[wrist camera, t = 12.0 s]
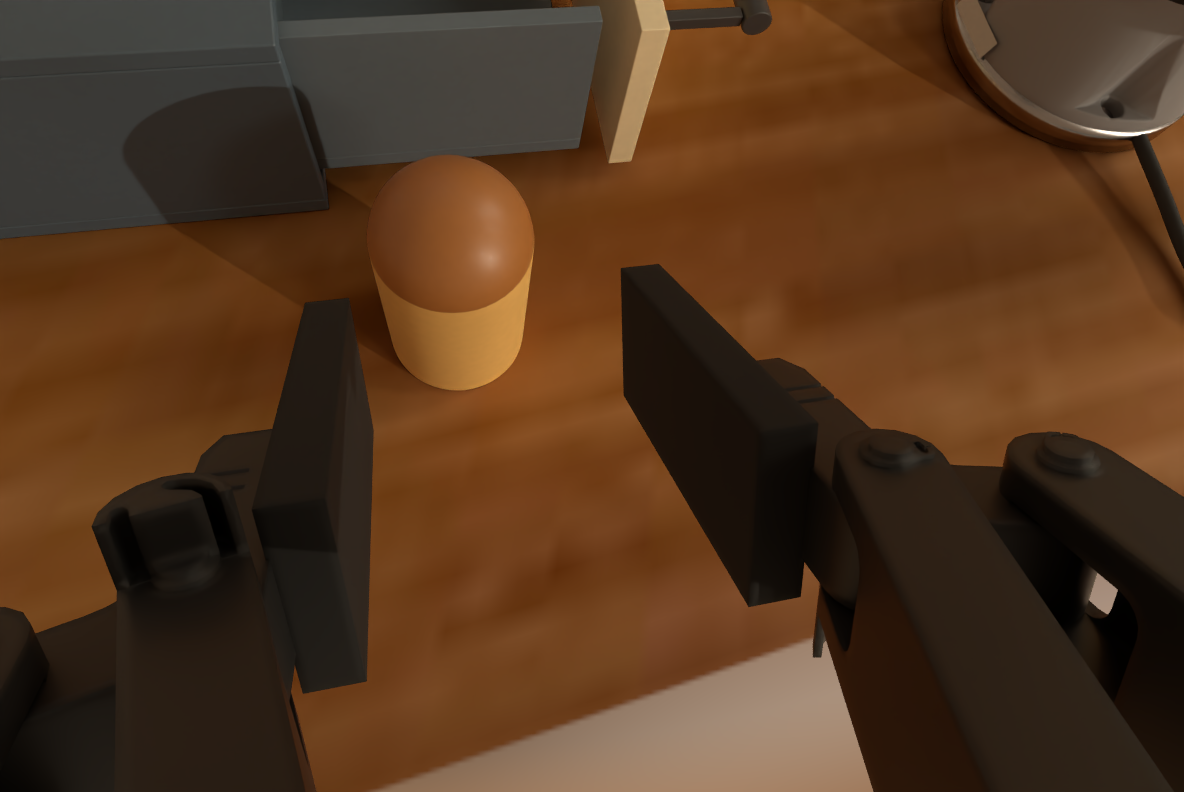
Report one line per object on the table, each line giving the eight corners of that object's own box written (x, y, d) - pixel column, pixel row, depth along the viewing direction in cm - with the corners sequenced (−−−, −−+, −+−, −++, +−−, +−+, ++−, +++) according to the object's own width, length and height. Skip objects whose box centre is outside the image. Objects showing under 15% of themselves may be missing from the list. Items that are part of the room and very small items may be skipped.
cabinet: (305, -26, 42) (251, -243, 32) (329, 209, 38) (275, 44, 28) (-74, -11, 39) (-266, -248, 29) (-93, 247, 35) (-325, 76, 25)
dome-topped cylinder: (549, 338, 38) (576, 210, 27) (447, 416, 36) (433, 311, 25) (467, 247, 38) (462, 89, 28) (363, 319, 37) (317, 179, 26)
